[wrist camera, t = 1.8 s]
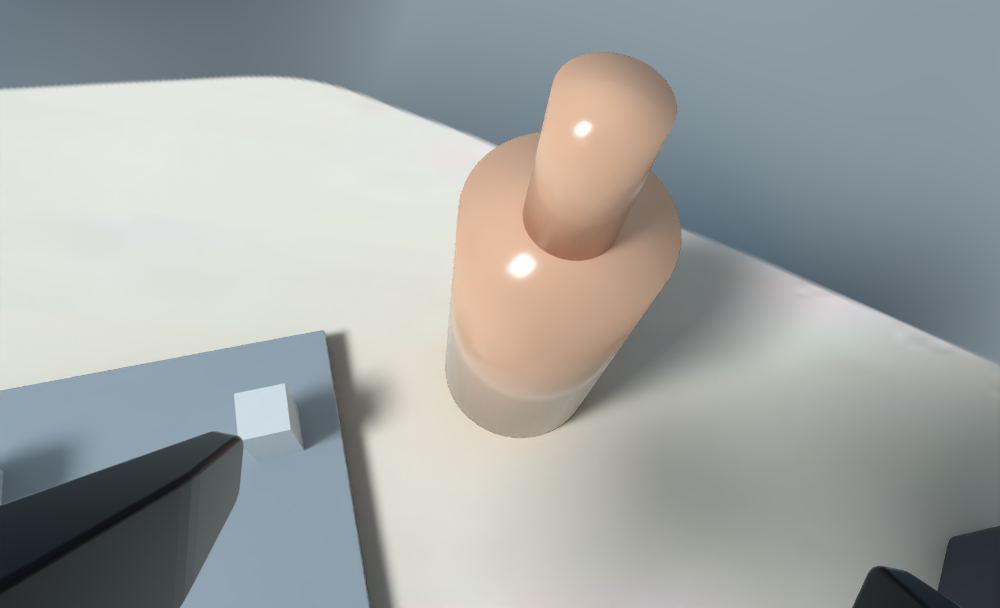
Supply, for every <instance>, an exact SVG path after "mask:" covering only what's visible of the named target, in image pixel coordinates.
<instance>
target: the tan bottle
mask: <svg viewBox="0 0 1000 608" xmlns="http://www.w3.org/2000/svg"><path fill="white" fill-rule="evenodd" d="M676 114H677V104H676V99H675V96H674V93H673V91H672V89H671V87H670V86H669V84H668V83H667V81H666V80H665V79H664V78H663V77H662V76H661V75H660V74H659V73H658V72H656V71H655V70H654V69H653V68H652V67H650V66H649V65H647V64H645V63H644V62H642V61H639V60H637V59H635V58H632V57H630V56H626V55H622V54H618V53H610V52H596V53H589V54H585V55H581V56H579V57H576V58H574V59H572V60H570V61H569V62H567V63H566V64H565V65H564V66H563V67H562V68H561V69H560V70H559V71H558V73H557V74H556V76H555V78H554V82H553V85H552V89H551V93H550V97H549V102H548V106H547V110H546V114H545V118H544V123H543V127H542V131H541V132H538V133H532V134H528V135H524V136H520V137H518V138H515V139H512V140H510V141H507V142H505V143H504V144H502V145H500V146H498V147H496V148H495V149H494V150H492V151H491V152H489V153H488V154H487V155H486V156H485V157H484V158H483V159H481V160H480V161H479V162H478V164H477V165H476V166H475V167H474V169H473V170H472V171H471V173H470V175H469V176H468V178H467V180H466V182H465V184H464V187H463V190H462V193H461V197H460V202H459V209H458V220H457V232H456V244H455V256H454V267H453V279H452V291H451V303H450V314H449V326H448V338H447V350H446V363H445V371H446V379H447V383H448V387H449V389H450V392H451V394H452V396H453V398H454V400H455V402H456V404H457V405H458V406H459V408H460V409H461V410H462V412H463V413H464V414H465V415H466V416H467V417H468V418H469V419H471V420H472V421H473V422H475V423H476V424H477V425H479V426H481V427H482V428H484V429H486V430H488V431H490V432H493V433H495V434H499V435H502V436H507V437H513V438H527V437H535V436H539V435H543V434H545V433H548V432H550V431H552V430H554V429H556V428H558V427H560V426H561V425H562V424H563V423H565V422H566V421H567V420H568V419H569V418H570V417H571V416H572V415H573V414H574V413H575V411H576V410H577V409H578V407H579V406H580V404H581V403H582V402H583V400H584V399H585V397H586V396H587V395H588V393H589V392H590V390H591V389H592V387H593V386H594V385H595V383H596V382H597V380H598V379H599V378H600V376H601V375H602V373H603V372H604V370H605V369H606V368H607V366H608V365H609V363H610V362H611V360H612V359H613V358H614V356H615V355H616V353H617V352H618V351H619V349H620V348H621V346H622V345H623V343H624V342H625V341H626V339H627V338H628V336H629V335H630V334H631V332H632V331H633V329H634V328H635V326H636V325H637V324H638V322H639V321H640V319H641V318H642V317H643V315H644V314H645V312H646V311H647V309H648V308H649V307H650V305H651V304H652V302H653V301H654V299H655V298H656V297H657V295H658V294H659V292H660V291H661V290H662V288H663V287H664V285H665V284H666V282H667V281H668V280H669V278H670V276H671V275H672V273H673V271H674V269H675V267H676V264H677V261H678V257H679V254H680V247H681V227H680V221H679V217H678V213H677V210H676V207H675V205H674V203H673V200H672V198H671V196H670V194H669V193H668V191H667V189H666V188H665V186H664V185H663V183H662V182H661V181H660V180H659V178H658V177H657V176H656V175H655V174H654V173H653V172H652V171H651V168H652V166H653V164H654V162H655V160H656V158H657V156H658V154H659V152H660V150H661V148H662V146H663V144H664V142H665V140H666V138H667V136H668V134H669V132H670V130H671V128H672V126H673V124H674V122H675V119H676Z"/></svg>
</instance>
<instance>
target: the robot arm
mask: <svg viewBox="0 0 1000 608" xmlns="http://www.w3.org/2000/svg"><path fill="white" fill-rule="evenodd" d="M243 448H244V445H243V440H242V438H241V437H240V436H237V435H233V434H228V433H223V432H218V431H211V432H207V433H205V434H202V435H199V436H196V437H193V438H190V439H187V440H185V441H182V442H179V443H176V444H173V445H170V446H167V447H165V448H162V449H159V450H156V451H153V452H150V453H147V454H145V455H142V456H139V457H136V458H133V459H130V460H127V461H125V462H122V463H119V464H116V465H113V466H110V467H107V468H105V469H102V470H99V471H96V472H93V473H90V474H87V475H84V476H82V477H79V478H76V479H73V480H70V481H67V482H64V483H62V484H59V485H56V486H53V487H50V488H47V489H44V490H42V491H39V492H36V493H33V494H30V495H27V496H24V497H22V498H19V499H16V500H13V501H10V502H7V503H4V504H2V505H0V608H180V607H181V605H182V604H183V602H184V601H185V599H186V597H187V595H188V593H189V591H190V590H191V588H192V586H193V584H194V582H195V580H196V578H197V576H198V574H199V573H200V571H201V569H202V567H203V565H204V563H205V561H206V559H207V557H208V555H209V553H210V551H211V549H212V548H213V546H214V544H215V542H216V540H217V538H218V536H219V534H220V532H221V530H222V528H223V526H224V524H225V523H226V521H227V519H228V517H229V515H230V513H231V511H232V509H233V507H234V505H235V503H236V500H237V497H238V494H239V490H240V481H241V470H242V459H243ZM852 608H962V607H961V606H959V605H958V604H956V603H955V602H953V601H952V600H950V599H949V598H947V597H945V596H944V595H942V594H941V593H939V592H938V591H936V590H935V589H933V588H932V587H930V586H929V585H927V584H926V583H924V582H923V581H921V580H919V579H918V578H916V577H915V576H913V575H912V574H910V573H908V572H906V571H903V570H899V569H894V568H889V567H884V566H876V567H874V568H872V569H871V570H870V571H869V573H868V574H867V577H866V579H865V581H864V583H863V585H862V588H861V590H860V592H859V594H858V596H857V598H856V601H855V603H854V605H853V607H852Z"/></svg>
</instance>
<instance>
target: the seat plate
mask: <svg viewBox="0 0 1000 608" xmlns="http://www.w3.org/2000/svg"><path fill="white" fill-rule="evenodd" d="M211 431H218V432H223V433H228V434H233V435H237V436H240V437H241V438H242V440H243V445H244V448H243V459H242V470H241V481H240V490H239V494H238V497H237V500H236V503H235V505H234V507H233V509H232V511H231V513H230V515H229V517H228V519H227V521H226V523H225V524H224V526H223V528H222V530H221V532H220V534H219V536H218V538H217V540H216V542H215V544H214V546H213V548H212V549H211V551H210V553H209V555H208V557H207V559H206V561H205V563H204V565H203V567H202V569H201V571H200V573H199V574H198V576H197V578H196V580H195V582H194V584H193V586H192V588H191V590H190V591H189V593H188V595H187V597H186V599H185V601H184V602H183V604H182V605H181V607H180V608H370V602H369V596H368V590H367V583H366V577H365V571H364V565H363V559H362V553H361V547H360V540H359V534H358V528H357V522H356V516H355V510H354V504H353V498H352V491H351V485H350V479H349V473H348V467H347V461H346V455H345V449H344V442H343V436H342V430H341V424H340V418H339V412H338V406H337V400H336V393H335V387H334V381H333V375H332V369H331V363H330V357H329V351H328V344H327V339H326V335H325V332H324V330H321V331H316V332H311V333H305V334H300V335H295V336H289V337H284V338H279V339H273V340H268V341H263V342H257V343H252V344H247V345H241V346H236V347H231V348H225V349H220V350H215V351H209V352H204V353H199V354H193V355H188V356H183V357H178V358H172V359H167V360H162V361H156V362H151V363H146V364H140V365H135V366H130V367H124V368H119V369H114V370H108V371H103V372H98V373H92V374H87V375H82V376H76V377H71V378H66V379H60V380H55V381H50V382H44V383H39V384H34V385H28V386H23V387H18V388H12V389H7V390H2V391H0V505H2V504H4V503H7V502H10V501H13V500H16V499H19V498H22V497H24V496H27V495H30V494H33V493H36V492H39V491H42V490H44V489H47V488H50V487H53V486H56V485H59V484H62V483H64V482H67V481H70V480H73V479H76V478H79V477H82V476H84V475H87V474H90V473H93V472H96V471H99V470H102V469H105V468H107V467H110V466H113V465H116V464H119V463H122V462H125V461H127V460H130V459H133V458H136V457H139V456H142V455H145V454H147V453H150V452H153V451H156V450H159V449H162V448H165V447H167V446H170V445H173V444H176V443H179V442H182V441H185V440H187V439H190V438H193V437H196V436H199V435H202V434H205V433H207V432H211Z"/></svg>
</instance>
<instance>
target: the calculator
mask: <svg viewBox="0 0 1000 608" xmlns="http://www.w3.org/2000/svg"><path fill="white" fill-rule="evenodd" d="M938 592H939V593H941V594H942V595H944V596H945V597H947V598H949V599H950V600H952V601H953V602H955V603H956V604H958V605H959V606H961V607H962V608H1000V526H998V527H994V528H989V529H985V530H981V531H977V532H972V533H968V534H964V535H960V536H956V537H953V538H951V539H950V541H949V543H948V547H947V551H946V555H945V560H944V565H943V569H942V574H941V578H940V583H939V587H938Z"/></svg>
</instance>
